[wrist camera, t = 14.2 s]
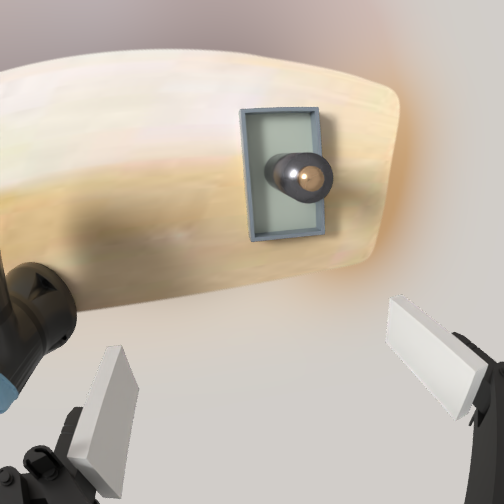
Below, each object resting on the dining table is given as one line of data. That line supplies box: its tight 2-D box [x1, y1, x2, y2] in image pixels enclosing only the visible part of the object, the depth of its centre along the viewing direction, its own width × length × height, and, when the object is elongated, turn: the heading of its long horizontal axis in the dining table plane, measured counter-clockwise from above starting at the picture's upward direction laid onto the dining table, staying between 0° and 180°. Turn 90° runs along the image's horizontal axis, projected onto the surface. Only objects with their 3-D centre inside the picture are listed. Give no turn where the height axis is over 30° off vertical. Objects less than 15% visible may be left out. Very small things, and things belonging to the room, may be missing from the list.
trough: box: [239, 107, 325, 242], centre depth 40 cm, size 10×17×3 cm, turn 4°
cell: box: [264, 152, 333, 204], centre depth 34 cm, size 5×5×13 cm
